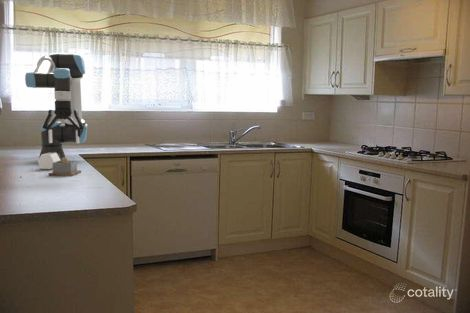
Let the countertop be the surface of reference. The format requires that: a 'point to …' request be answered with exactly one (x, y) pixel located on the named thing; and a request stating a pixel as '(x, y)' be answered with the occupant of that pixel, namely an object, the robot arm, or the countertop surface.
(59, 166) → the grey hollow block
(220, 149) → the countertop surface
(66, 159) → the keeper
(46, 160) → the jar
